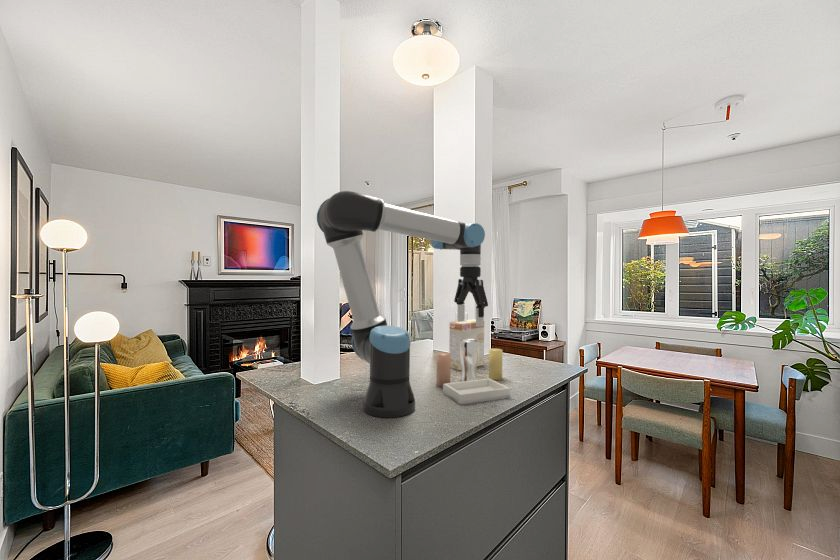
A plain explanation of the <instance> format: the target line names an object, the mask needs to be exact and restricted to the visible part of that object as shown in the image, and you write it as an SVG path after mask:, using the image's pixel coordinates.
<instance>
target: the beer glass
mask: <svg viewBox="0 0 840 560" xmlns="http://www.w3.org/2000/svg"><path fill="white" fill-rule="evenodd" d="M478 356H479V347H478V340H475V339H462V340H460V361H461V367H462V370H461V375H460V382H463V381H471V380H478V378H477V362H478Z"/></svg>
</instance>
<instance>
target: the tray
mask: <svg viewBox="0 0 840 560" xmlns="http://www.w3.org/2000/svg"><path fill="white" fill-rule="evenodd" d="M442 393H443V394H444V395H446V396H448V397H449V398H451V399H452V400H453V401H454V402H456V403H458V404H459V405H468V404H474V403H475V404H476V403H481V402H482V403H483V402H488V401H494V400H495V401H496V400H502V399H507V398H508V399H509V398H511V388H510V387H508V386H506V385H504V384H502V383H500V382H498V381H497V380H492V379H490V378H489V377H488V378H482V379H477V380H471V381H463V382H462V381H457V382H454V381H453V382H450V383H446V384H443V387H442Z"/></svg>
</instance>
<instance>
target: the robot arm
mask: <svg viewBox="0 0 840 560" xmlns="http://www.w3.org/2000/svg"><path fill="white" fill-rule="evenodd" d="M316 223H317V226H318V228H319V229H320V230H321V232H322V233H323V235H324V239H325V242H326V245H328V246H329V247H330V248H332V249H333V252H334V255H335V260H336V264H337V266H338V267H337V268H338V270H339V275H340V276H341V281H342V285H343V289H344V292H345V295H346V299H347V301H348V306H349V310H350V312H351V317H352V320H353V321H352V323H351V325H350V327H349V328H350V331H351V347H352V350H353V352H355V353H354V354H356V355H357V357H359V358H360V359H361V360H363V361H365V362H367V363H368V364H369V383H368V386H367V389H366V393H365V396H364V399H363V405H362V406H363V411H364V413H366V414H368V415H370V416H373V417H378V418H388V419H389V418H399V417H403V416H408V415H410V414H411V413H413V412H415V410H416V399H415V396H414V393H413V389H412V386H411V383H410V372H411V371H410V370H411V369H410V366H411V365H410V362H411V361H410V360H411V359H410V357H411V339H410V338H411V337H410V334H409V333H410V332H409V331H408V330H407V329H406V328H403V327H401V326H395V325H388V321H387V319H386V316H384V315H383V314H380V312H379V311H380V310H379V306H378V303H377V300H376V297H375V292H374V289H373V284H372V281H371V277H370V274H369V270H368V267H367V263H366V258H365V255H364V254H365V253H364V251H363V247H362V243H361V241H362V238H363V237H364V232H363V231H367V232H368V231H370V232H374V233H376V232H377V231H379V230H381V231H387V232H390V233H397V234H400V235H406V236H410V237H414V238H420V239H425V240H428V241H429V242H430V246H431V247H432V248H433V249H435V250H453V251H455V250H458V251H459V253H460V254H459V265H460V268H459V275H460V277H461V278H458V281H457V283H458V284H457V288H456V292H455V296H454V298H453V299H454V300H453V301H454V302H453V303H456V305H457V316H456V317H457V319H456V321H457V322H463V321H465V320H466V319H465V317H466V316H465V315H466V314H465V311H466V310H465V307H466V305H465V301H466V298H467V296H468V295H469V293H471V294H472V297H473V299H474V302H475V305H476V306H475V319H476V326H477V327H479V326H484V327H485V320H484V319H485V308H486V307H488V306H489V303H488V299H487V295H486V294H487V293H486V291H485V287H484V280H483V279H478V278H479V277H481V276H482V275H481V273H482V272H481V271H482V270H481V269H482V268H481V260H482V257H481V252H482V250H481V249H482V244H483V243H484V241H485V237H486V233H485V232H486V231H485V228H484V227H483V226H482V224H480V223H478V222H468V223H465V222H461V221H457V220H453V219H449V218H444V217H440V216H436V215H432V214H429V213H424V212H420V211H416V210H412V209H408V208H405V207H401V206H396V205H392V204H389V203H385V202H384V200H383V199H382V198H379V197H374V196H371V195H368V194H363V193H360V192H355V191H350V190H349V191H348V190H345V191H338V192H336V193H334V194H332V195H331V196H330V197H329V198H327V199H325V200H324V201H323V202H322V203H321V204H320V205H319V208H318V210H317V213H316Z"/></svg>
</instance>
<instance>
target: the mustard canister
mask: <svg viewBox="0 0 840 560" xmlns="http://www.w3.org/2000/svg"><path fill="white" fill-rule="evenodd" d="M488 349H489V350H488V378H490V379H492V380H494V381H503V352H504V351H503V349H502V348H494V347H493V348H491V347H490V348H488Z"/></svg>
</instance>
